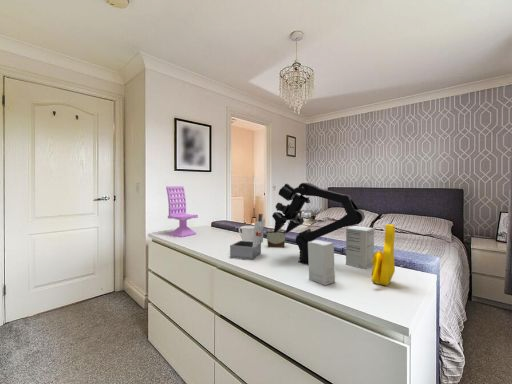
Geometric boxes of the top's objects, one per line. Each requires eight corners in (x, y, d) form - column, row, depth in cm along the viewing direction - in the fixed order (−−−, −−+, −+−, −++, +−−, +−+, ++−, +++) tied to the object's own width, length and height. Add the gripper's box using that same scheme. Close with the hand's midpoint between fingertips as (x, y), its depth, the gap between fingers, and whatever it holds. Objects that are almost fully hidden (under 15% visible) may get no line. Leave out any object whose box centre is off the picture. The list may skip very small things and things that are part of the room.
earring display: (181, 237, 173) (181, 186, 172) (165, 234, 182) (165, 186, 181) (197, 234, 185) (197, 186, 184) (181, 231, 195) (181, 186, 194)
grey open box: (260, 253, 133) (260, 242, 133) (252, 260, 122) (252, 247, 122) (240, 251, 137) (240, 240, 137) (230, 257, 126) (230, 245, 126)
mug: (257, 242, 160) (257, 226, 160) (254, 245, 151) (254, 228, 151) (240, 241, 162) (240, 225, 161) (236, 244, 153) (236, 227, 153)
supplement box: (354, 260, 122) (354, 225, 122) (374, 264, 115) (374, 227, 115) (345, 264, 115) (345, 227, 115) (365, 269, 109) (366, 230, 108)
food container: (286, 245, 152) (286, 228, 152) (286, 247, 146) (286, 230, 145) (266, 244, 153) (266, 228, 153) (265, 247, 147) (265, 230, 147)
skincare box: (335, 282, 94) (335, 242, 94) (324, 286, 91) (324, 244, 90) (317, 275, 101) (318, 238, 101) (307, 279, 97) (307, 240, 97)
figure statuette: (375, 273, 103) (376, 220, 103) (397, 278, 99) (398, 221, 98) (366, 288, 89) (366, 226, 88) (391, 294, 84) (392, 228, 84)
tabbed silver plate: (260, 241, 133) (265, 242, 132) (252, 246, 122) (257, 247, 121) (263, 212, 132) (268, 213, 131) (255, 215, 121) (260, 215, 120)
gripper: (295, 199, 133) (281, 223, 137) (272, 195, 119) (258, 222, 124) (310, 211, 126) (295, 236, 130) (288, 208, 112) (272, 236, 116)
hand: (280, 232), depth 125 cm, fingers open, 9 cm apart
